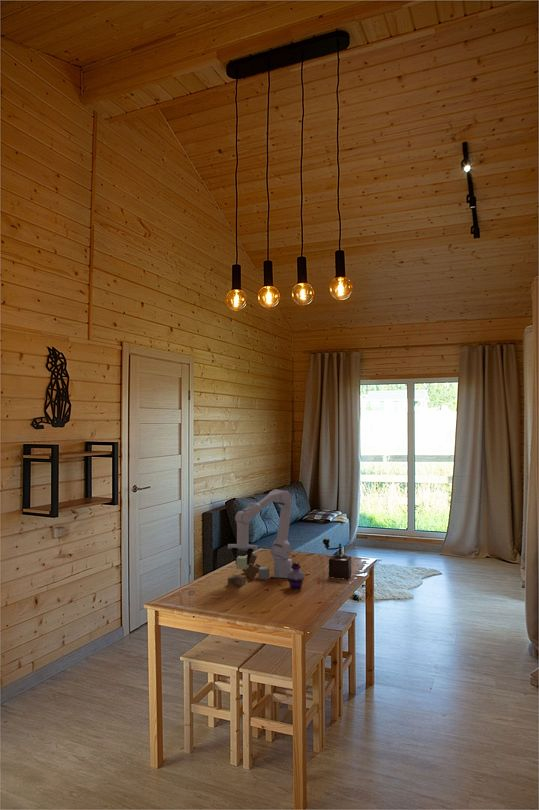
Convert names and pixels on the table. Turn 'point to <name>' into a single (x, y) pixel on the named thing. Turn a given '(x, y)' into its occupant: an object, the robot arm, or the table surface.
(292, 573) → the potion bottle
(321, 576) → the table surface
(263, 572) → the slate cube
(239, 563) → the sage cube
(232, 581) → the walnut base
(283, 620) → the table surface
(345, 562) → the manual coffee grinder
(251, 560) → the wooden block set
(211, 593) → the table surface
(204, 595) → the table surface
